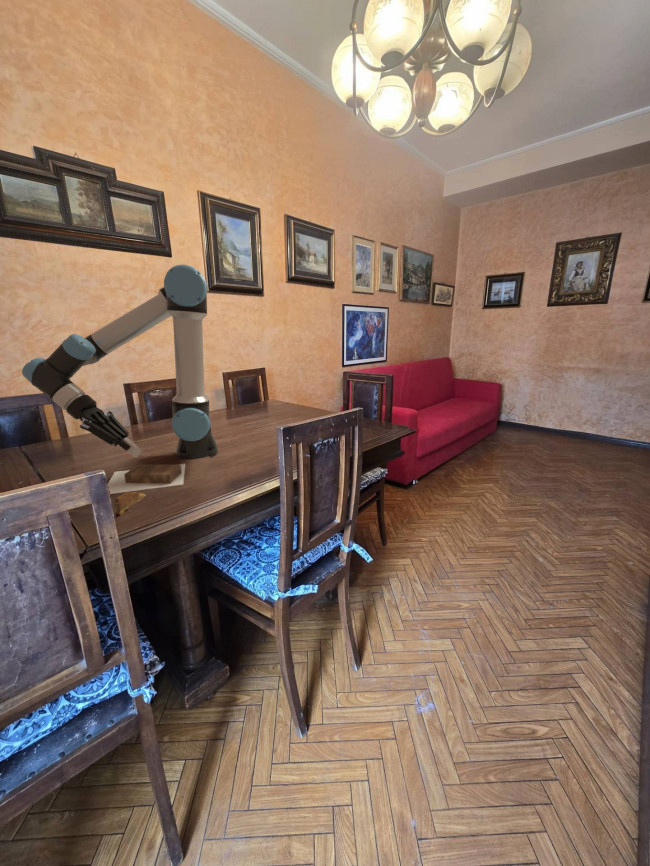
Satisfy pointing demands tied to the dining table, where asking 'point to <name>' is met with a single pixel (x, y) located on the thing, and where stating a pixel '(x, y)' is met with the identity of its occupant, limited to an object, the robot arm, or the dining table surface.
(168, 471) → the walnut slab
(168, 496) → the dining table surface
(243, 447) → the dining table surface
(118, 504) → the shard
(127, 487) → the white paper sheet
